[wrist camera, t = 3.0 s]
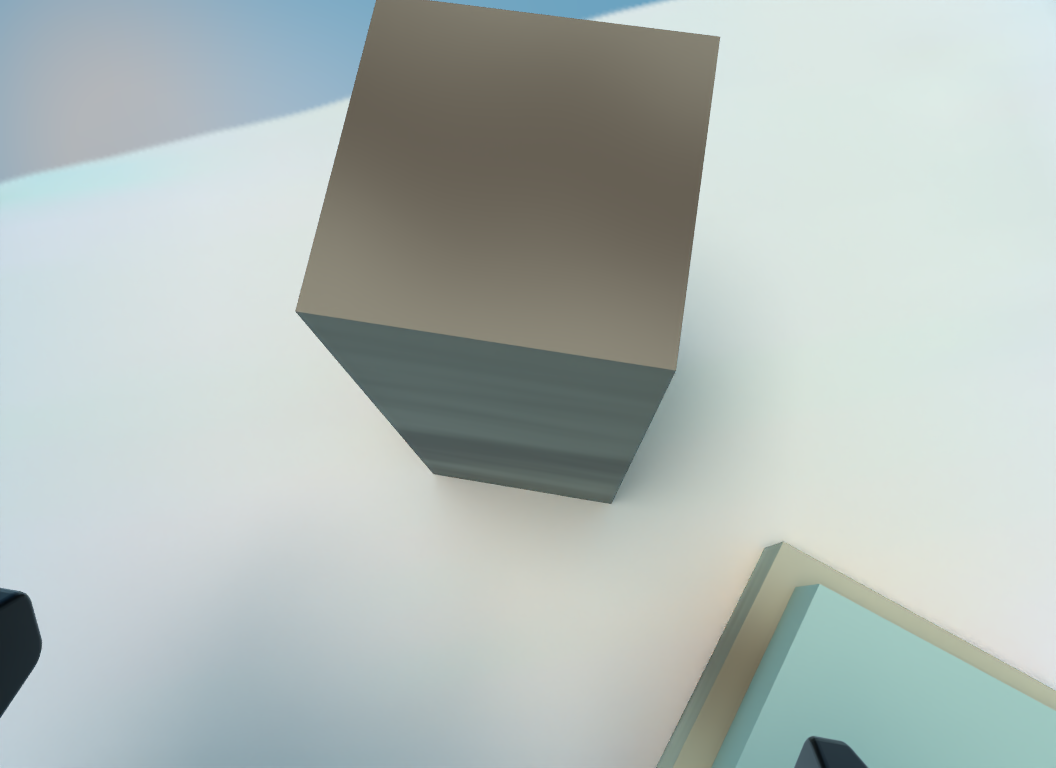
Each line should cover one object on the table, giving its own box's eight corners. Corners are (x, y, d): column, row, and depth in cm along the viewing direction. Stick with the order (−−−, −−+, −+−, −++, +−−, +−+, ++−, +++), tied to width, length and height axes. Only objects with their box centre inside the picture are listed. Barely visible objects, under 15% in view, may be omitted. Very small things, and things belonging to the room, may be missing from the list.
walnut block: (610, 503, 23) (676, 370, 11) (433, 473, 24) (295, 310, 11) (636, 333, 25) (719, 36, 12) (467, 307, 25) (377, -7, 12)
